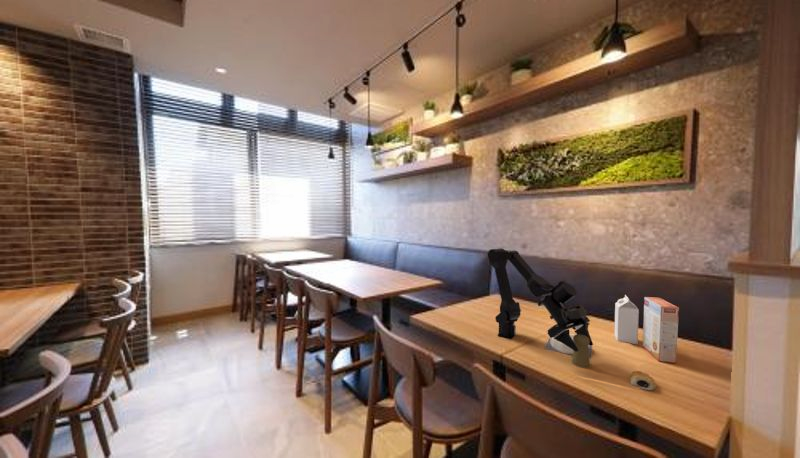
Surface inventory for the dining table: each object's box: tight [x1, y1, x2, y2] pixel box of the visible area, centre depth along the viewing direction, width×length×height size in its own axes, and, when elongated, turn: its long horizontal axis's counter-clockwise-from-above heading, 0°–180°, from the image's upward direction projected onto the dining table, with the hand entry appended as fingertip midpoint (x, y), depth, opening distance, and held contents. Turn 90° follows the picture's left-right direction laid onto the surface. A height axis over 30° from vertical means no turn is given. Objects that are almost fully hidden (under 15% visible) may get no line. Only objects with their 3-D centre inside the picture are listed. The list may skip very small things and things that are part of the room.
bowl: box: [549, 333, 576, 356], centre depth 130 cm, size 13×13×3 cm
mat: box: [544, 337, 593, 359], centre depth 130 cm, size 16×13×1 cm
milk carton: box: [614, 294, 640, 345], centre depth 138 cm, size 7×7×19 cm
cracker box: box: [642, 296, 680, 364], centre depth 124 cm, size 14×6×21 cm, turn 163°
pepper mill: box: [571, 334, 591, 369], centre depth 116 cm, size 6×6×11 cm
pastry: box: [628, 370, 657, 392], centre depth 104 cm, size 9×7×4 cm
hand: (584, 348), depth 115 cm, fingers open, 9 cm apart
